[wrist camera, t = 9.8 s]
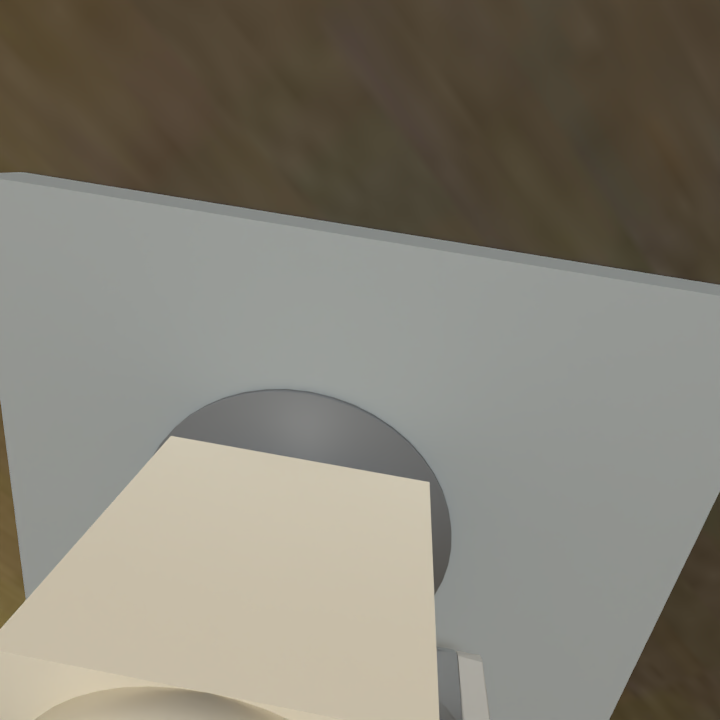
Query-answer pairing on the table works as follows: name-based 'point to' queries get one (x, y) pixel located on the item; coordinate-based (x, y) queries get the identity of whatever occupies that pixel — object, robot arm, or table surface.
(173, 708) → the knob
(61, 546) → the panel
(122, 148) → the table surface
